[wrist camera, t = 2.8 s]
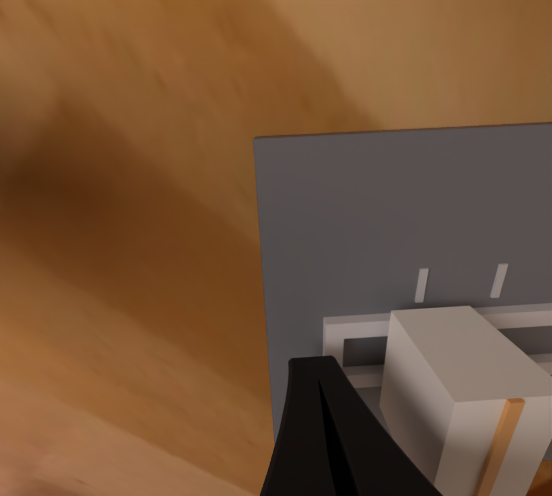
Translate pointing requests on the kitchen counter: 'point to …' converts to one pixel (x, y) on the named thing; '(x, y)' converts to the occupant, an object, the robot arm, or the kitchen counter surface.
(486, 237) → the console
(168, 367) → the kitchen counter surface
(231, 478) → the kitchen counter surface
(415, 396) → the fader cap
